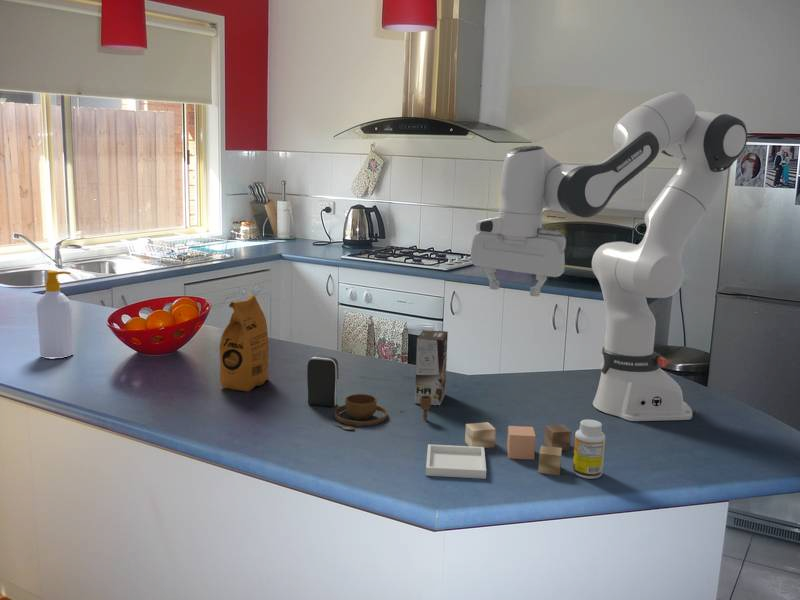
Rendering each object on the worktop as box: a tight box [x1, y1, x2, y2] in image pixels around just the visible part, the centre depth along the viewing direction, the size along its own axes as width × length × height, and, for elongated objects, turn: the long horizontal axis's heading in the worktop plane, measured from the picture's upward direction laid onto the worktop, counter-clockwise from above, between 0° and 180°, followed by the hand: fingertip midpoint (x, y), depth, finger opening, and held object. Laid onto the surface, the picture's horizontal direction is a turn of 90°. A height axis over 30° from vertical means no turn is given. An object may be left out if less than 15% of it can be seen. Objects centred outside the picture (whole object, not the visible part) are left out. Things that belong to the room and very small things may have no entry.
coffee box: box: [414, 329, 449, 406], centre depth 186 cm, size 9×6×16 cm
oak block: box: [537, 445, 563, 476], centre depth 148 cm, size 4×4×4 cm
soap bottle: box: [36, 270, 75, 357], centre depth 213 cm, size 9×9×24 cm
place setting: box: [333, 393, 432, 431], centre depth 172 cm, size 18×20×6 cm
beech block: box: [464, 421, 496, 449], centre depth 160 cm, size 5×4×4 cm
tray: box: [425, 443, 487, 480], centre depth 150 cm, size 11×11×2 cm
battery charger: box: [306, 355, 339, 408], centre depth 181 cm, size 7×4×11 cm, turn 75°
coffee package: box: [219, 294, 269, 392], centre depth 193 cm, size 10×12×22 cm
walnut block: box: [544, 424, 572, 451], centre depth 160 cm, size 4×4×4 cm
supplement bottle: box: [572, 419, 606, 480], centre depth 146 cm, size 6×6×10 cm
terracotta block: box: [506, 425, 536, 461], centre depth 155 cm, size 5×5×5 cm
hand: (514, 292), depth 162 cm, fingers open, 8 cm apart
